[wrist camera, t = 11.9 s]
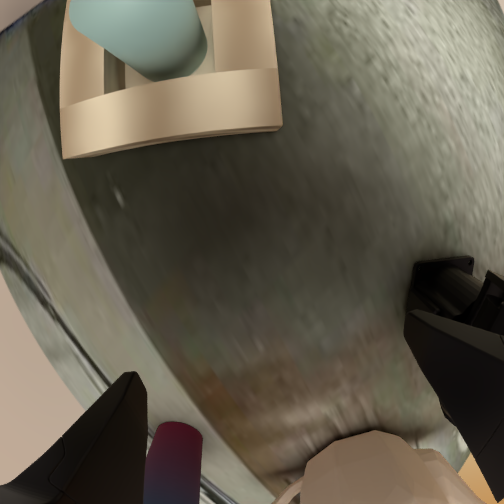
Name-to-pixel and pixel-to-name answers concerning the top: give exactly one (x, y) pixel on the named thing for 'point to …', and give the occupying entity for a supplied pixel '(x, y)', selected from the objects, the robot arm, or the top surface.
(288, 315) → the top surface
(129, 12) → the peg
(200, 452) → the cup
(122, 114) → the socket
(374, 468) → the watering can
